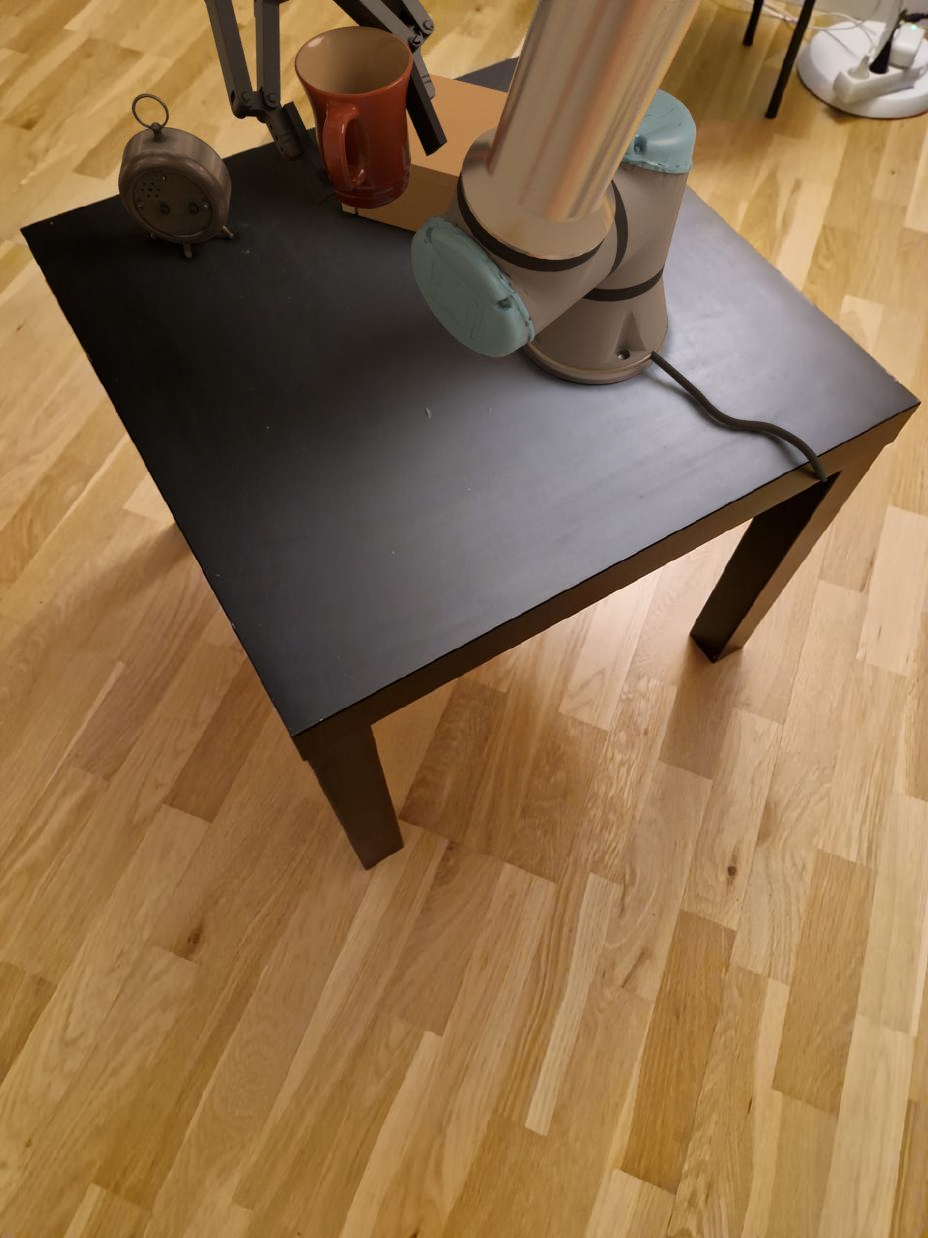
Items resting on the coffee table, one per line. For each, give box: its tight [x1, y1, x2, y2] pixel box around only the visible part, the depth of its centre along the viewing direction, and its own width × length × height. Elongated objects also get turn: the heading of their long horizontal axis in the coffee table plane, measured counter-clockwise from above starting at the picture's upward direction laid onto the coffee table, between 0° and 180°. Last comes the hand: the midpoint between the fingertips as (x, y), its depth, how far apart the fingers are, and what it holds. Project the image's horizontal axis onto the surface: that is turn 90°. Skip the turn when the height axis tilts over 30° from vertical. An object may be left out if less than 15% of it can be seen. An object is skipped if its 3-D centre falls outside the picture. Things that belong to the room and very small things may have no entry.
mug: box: [293, 25, 413, 209], centre depth 65 cm, size 12×9×10 cm
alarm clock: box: [117, 93, 234, 258], centre depth 85 cm, size 11×5×16 cm, turn 92°
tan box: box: [341, 23, 508, 233], centre depth 90 cm, size 16×16×16 cm
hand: (383, 173), depth 65 cm, fingers closed on mug, 10 cm apart
